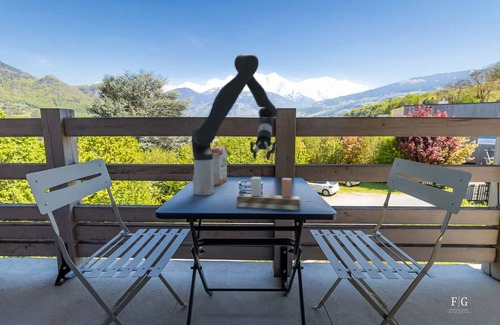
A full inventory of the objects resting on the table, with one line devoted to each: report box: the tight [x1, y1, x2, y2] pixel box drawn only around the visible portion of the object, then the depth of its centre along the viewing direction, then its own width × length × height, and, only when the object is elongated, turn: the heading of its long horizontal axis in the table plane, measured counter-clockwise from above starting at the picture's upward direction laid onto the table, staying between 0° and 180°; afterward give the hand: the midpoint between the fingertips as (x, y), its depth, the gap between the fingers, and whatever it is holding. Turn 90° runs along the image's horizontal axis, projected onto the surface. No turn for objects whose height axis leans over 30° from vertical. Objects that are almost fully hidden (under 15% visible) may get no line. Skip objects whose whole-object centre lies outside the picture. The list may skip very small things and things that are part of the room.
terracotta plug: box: [281, 177, 293, 198], centre depth 122 cm, size 4×4×8 cm
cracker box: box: [211, 146, 228, 186], centre depth 158 cm, size 14×6×21 cm, turn 168°
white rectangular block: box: [250, 176, 262, 196], centre depth 125 cm, size 4×4×8 cm
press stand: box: [236, 193, 301, 211], centre depth 119 cm, size 26×15×4 cm, turn 78°
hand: (261, 158), depth 138 cm, fingers open, 5 cm apart
